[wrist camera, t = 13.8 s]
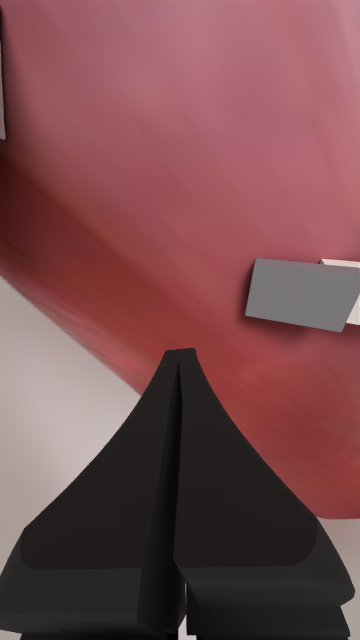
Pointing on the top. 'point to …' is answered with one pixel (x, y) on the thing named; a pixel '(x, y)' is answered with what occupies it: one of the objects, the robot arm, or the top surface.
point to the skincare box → (1, 106)
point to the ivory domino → (356, 316)
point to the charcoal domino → (303, 293)
